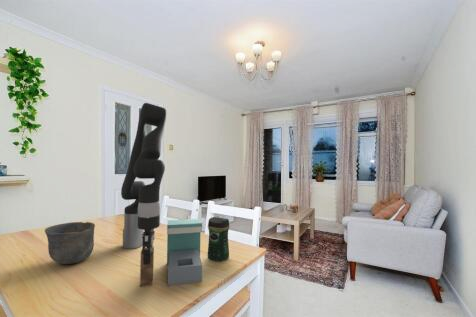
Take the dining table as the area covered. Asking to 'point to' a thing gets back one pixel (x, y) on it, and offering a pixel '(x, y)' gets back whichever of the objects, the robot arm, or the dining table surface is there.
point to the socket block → (184, 267)
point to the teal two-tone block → (183, 235)
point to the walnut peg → (146, 270)
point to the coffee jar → (218, 239)
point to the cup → (70, 241)
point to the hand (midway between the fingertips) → (148, 259)
